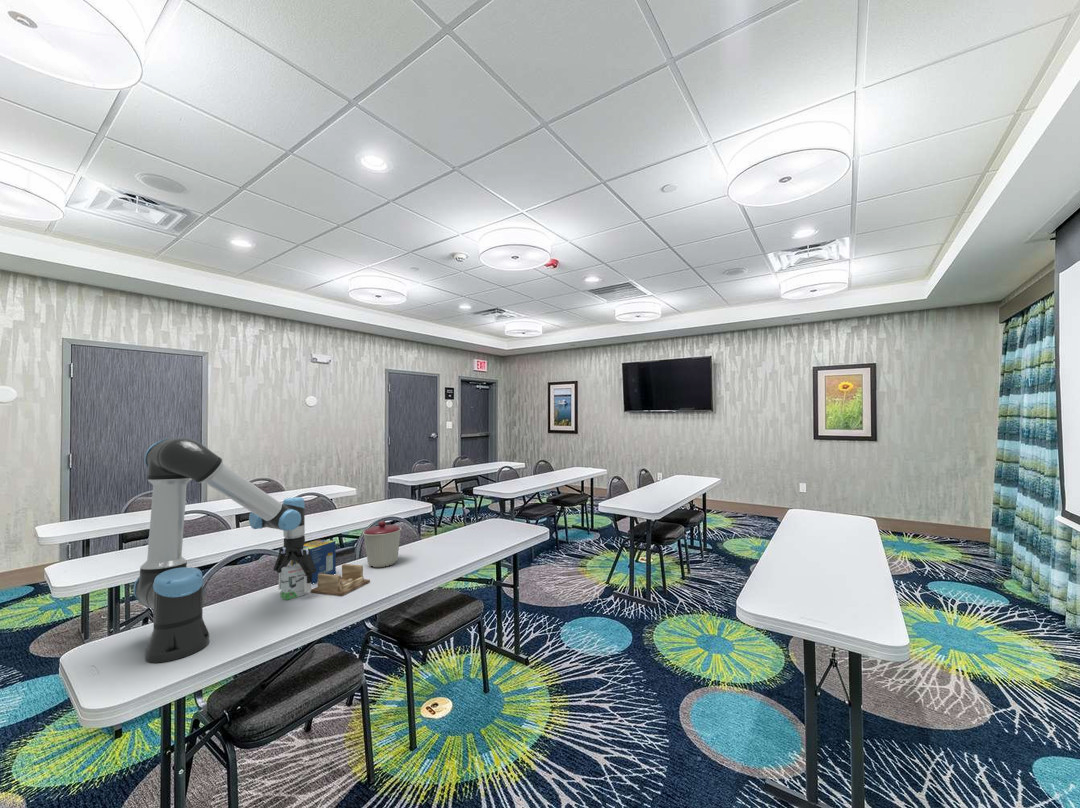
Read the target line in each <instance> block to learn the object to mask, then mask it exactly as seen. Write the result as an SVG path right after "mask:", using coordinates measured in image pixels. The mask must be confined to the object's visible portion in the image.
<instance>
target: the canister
mask: <svg viewBox="0 0 1080 808" xmlns="http://www.w3.org/2000/svg"><path fill="white" fill-rule="evenodd" d="M401 531H402V527H401V526H398V525H396V524H387V521H385V520H380V521H379V522H378V525H374V526H371V527H368V528H366V529H365V530H364V531H362V535H363V538H364V545H365V553H366V559H367V563H368V565H369V566H370V567H371V566H373V567H372V568H386V567H390V566H392V565H395V564H396V563H397V561H398V558H399V549H400V548H399V547H400V538H401ZM389 565H390V566H389ZM385 566H386V567H385Z"/></svg>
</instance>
